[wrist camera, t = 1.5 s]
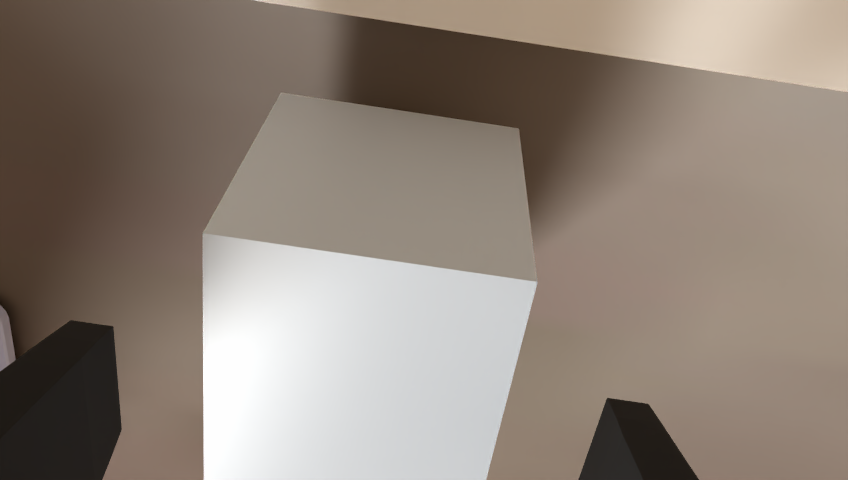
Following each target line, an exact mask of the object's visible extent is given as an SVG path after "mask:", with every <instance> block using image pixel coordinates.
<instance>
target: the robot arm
mask: <svg viewBox="0 0 848 480" xmlns="http://www.w3.org/2000/svg"><path fill="white" fill-rule="evenodd" d="M121 430H122V428H121V416H120V404H119V392H118V379H117V367H116V355H115V343H114V330H113V326H106V325H99V324H92V323H85V322H78V321H69V322H68V323H67V324H65V325H64V326H62V327H61V328H60V329H58V330H57V331H55V332H54V333H52V334H51V335H49V336H48V337H47V338H45V339H44V340H43V341H41V342H40V343H38V344H37V345H36V346H34V347H33V348H31V349H30V350H29V351H27V352H26V353H25V354H23V355H22V356H21V357H19V358H18V359H16V358H15V352H14V346H13V340H12V334H11V328H10V322H9V317H8V314H7V312H6V311H5V310H4V308H3V307H2V306H1V305H0V480H102V479H103V476H104V474H105V471H106V469H107V466H108V464H109V461H110V459H111V456H112V453H113V451H114V448H115V445H116V443H117V440H118V438H119V435H120V432H121ZM579 480H699V479H698V478H697V476H696V475H695V473H694V472H693V470H692V469H691V467H690V466H689V464H688V463H687V461H686V460H685V458H684V457H683V455H682V454H681V452H680V451H679V449H678V448H677V446H676V445H675V443H674V442H673V440H672V439H671V437H670V435H669V434H668V432H667V431H666V429H665V428H664V426H663V425H662V423H661V422H660V420H659V419H658V417H657V416H656V414H655V413H654V411H653V410H652V409H651V407H650V406H649V404H645V403H638V402H631V401H624V400H617V399H611V398H607V400H606V403H605V406H604V408H603V411H602V414H601V417H600V420H599V423H598V426H597V428H596V431H595V434H594V437H593V440H592V443H591V446H590V448H589V451H588V454H587V457H586V460H585V463H584V466H583V468H582V471H581V474H580V477H579Z"/></svg>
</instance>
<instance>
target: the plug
mask: <svg viewBox="0 0 848 480" xmlns="http://www.w3.org/2000/svg"><path fill="white" fill-rule="evenodd" d="M536 286H537V274H536V265H535V257H534V249H533V241H532V233H531V224H530V216H529V208H528V200H527V191H526V183H525V175H524V167H523V158H522V150H521V142H520V134H519V128H513V127H507V126H500V125H493V124H487V123H480V122H474V121H467V120H460V119H454V118H447V117H441V116H434V115H427V114H421V113H414V112H407V111H401V110H394V109H388V108H381V107H374V106H368V105H361V104H355V103H348V102H341V101H335V100H328V99H322V98H315V97H308V96H302V95H295V94H288V93H282V92H281V93H280V95H279V97H278V99H277V100H276V102H275V104H274V106H273V107H272V109H271V111H270V113H269V115H268V116H267V118H266V120H265V122H264V124H263V125H262V127H261V129H260V131H259V133H258V134H257V136H256V138H255V140H254V142H253V143H252V145H251V147H250V149H249V151H248V152H247V154H246V156H245V158H244V160H243V161H242V163H241V165H240V167H239V169H238V170H237V172H236V174H235V176H234V178H233V179H232V181H231V183H230V185H229V187H228V188H227V190H226V192H225V194H224V196H223V197H222V199H221V201H220V203H219V205H218V206H217V208H216V210H215V212H214V213H213V215H212V217H211V219H210V221H209V222H208V224H207V226H206V228H205V230H204V231H203V395H204V480H486V478H487V474H488V470H489V466H490V462H491V458H492V455H493V451H494V447H495V443H496V439H497V435H498V432H499V428H500V424H501V420H502V416H503V412H504V409H505V405H506V401H507V397H508V393H509V389H510V386H511V382H512V378H513V374H514V370H515V366H516V363H517V359H518V355H519V351H520V347H521V343H522V340H523V336H524V332H525V328H526V324H527V320H528V316H529V313H530V309H531V305H532V301H533V297H534V293H535V290H536Z"/></svg>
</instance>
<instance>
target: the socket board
mask: <svg viewBox="0 0 848 480" xmlns="http://www.w3.org/2000/svg"><path fill="white" fill-rule="evenodd" d="M254 1H261V2H267V3H274V4H280V5H287V6H293V7H300V8H306V9H313V10H319V11H325V12H332V13H338V14H345V15H351V16H358V17H364V18H371V19H377V20H384V21H390V22H397V23H403V24H410V25H416V26H423V27H429V28H436V29H442V30H449V31H455V32H462V33H468V34H475V35H481V36H487V37H494V38H500V39H507V40H513V41H520V42H526V43H533V44H539V45H546V46H552V47H559V48H565V49H572V50H578V51H585V52H591V53H598V54H604V55H611V56H617V57H624V58H630V59H636V60H643V61H649V62H656V63H662V64H669V65H675V66H682V67H688V68H695V69H701V70H708V71H714V72H721V73H727V74H734V75H740V76H747V77H753V78H760V79H766V80H773V81H779V82H786V83H792V84H798V85H805V86H811V87H818V88H824V89H831V90H837V91H844V92H848V0H254Z"/></svg>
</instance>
